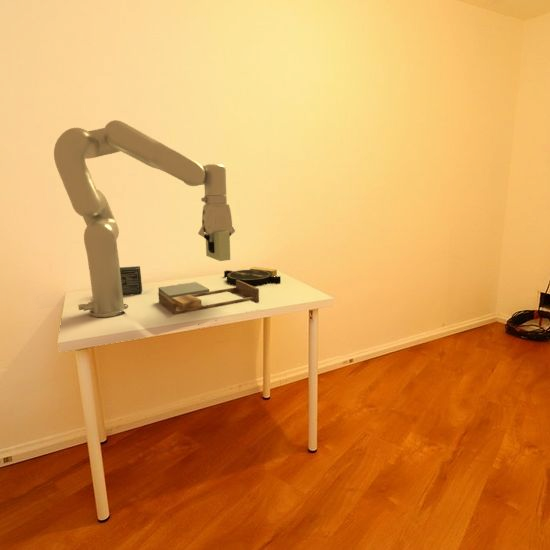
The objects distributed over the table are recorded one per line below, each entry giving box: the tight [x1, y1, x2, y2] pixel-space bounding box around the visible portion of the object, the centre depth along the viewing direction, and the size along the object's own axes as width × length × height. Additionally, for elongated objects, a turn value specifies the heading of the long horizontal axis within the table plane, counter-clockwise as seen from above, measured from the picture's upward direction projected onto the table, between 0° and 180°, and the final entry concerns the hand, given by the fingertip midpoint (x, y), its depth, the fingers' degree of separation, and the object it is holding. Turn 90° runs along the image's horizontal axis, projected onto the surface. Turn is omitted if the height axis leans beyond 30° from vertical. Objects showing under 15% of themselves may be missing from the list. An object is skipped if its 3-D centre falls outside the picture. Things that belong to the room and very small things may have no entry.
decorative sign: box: [223, 266, 282, 287], centre depth 177 cm, size 29×3×25 cm
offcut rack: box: [157, 280, 260, 316], centre depth 141 cm, size 32×16×5 cm, turn 123°
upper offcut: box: [172, 295, 202, 309], centre depth 136 cm, size 7×9×2 cm
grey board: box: [157, 281, 210, 298], centre depth 153 cm, size 16×14×2 cm
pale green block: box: [204, 231, 231, 262], centre depth 139 cm, size 4×12×10 cm, turn 33°
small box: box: [120, 265, 143, 296], centre depth 155 cm, size 11×6×10 cm, turn 104°
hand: (217, 251), depth 139 cm, fingers closed on pale green block, 4 cm apart
